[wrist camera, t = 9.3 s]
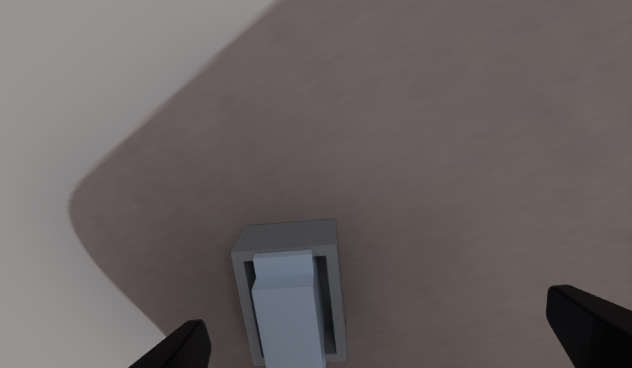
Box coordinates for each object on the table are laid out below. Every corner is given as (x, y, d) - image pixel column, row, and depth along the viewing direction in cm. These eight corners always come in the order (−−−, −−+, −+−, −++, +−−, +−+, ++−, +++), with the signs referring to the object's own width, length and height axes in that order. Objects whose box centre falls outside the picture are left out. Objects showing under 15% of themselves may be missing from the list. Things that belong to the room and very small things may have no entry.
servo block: (326, 325, 22) (325, 384, 18) (281, 327, 22) (270, 387, 18) (314, 225, 20) (310, 266, 16) (265, 229, 20) (247, 270, 16)
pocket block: (345, 322, 23) (347, 361, 19) (264, 326, 23) (253, 366, 20) (335, 218, 20) (336, 244, 17) (245, 225, 21) (230, 252, 18)
